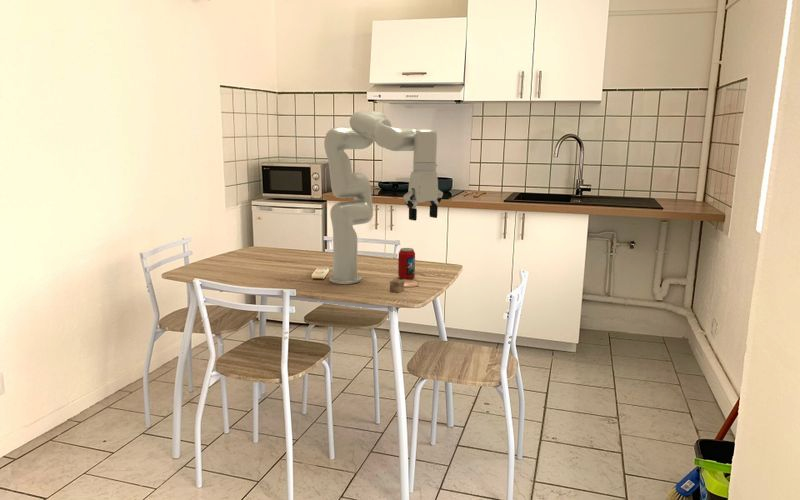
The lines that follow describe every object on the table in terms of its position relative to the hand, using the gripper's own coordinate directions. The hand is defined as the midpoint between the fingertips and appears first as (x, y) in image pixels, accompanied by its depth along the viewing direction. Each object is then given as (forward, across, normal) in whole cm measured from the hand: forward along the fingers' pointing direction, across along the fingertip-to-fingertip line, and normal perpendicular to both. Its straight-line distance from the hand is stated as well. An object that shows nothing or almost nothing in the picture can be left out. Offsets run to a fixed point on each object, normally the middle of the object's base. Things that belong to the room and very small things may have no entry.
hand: (423, 218), depth 199 cm
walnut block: (+31, -6, -19) cm, 36 cm away
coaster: (+31, -14, -24) cm, 41 cm away
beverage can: (+31, -22, -31) cm, 48 cm away
